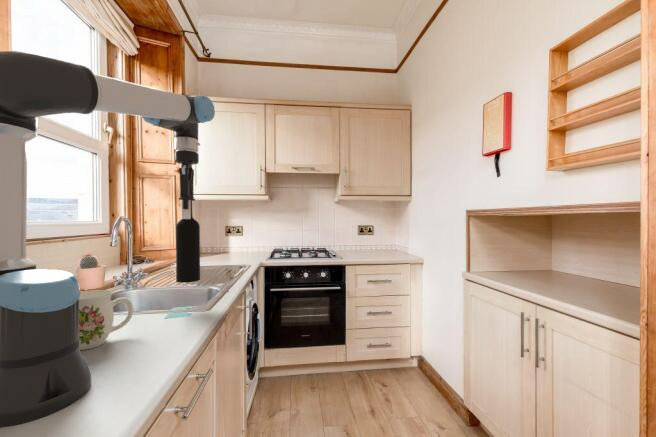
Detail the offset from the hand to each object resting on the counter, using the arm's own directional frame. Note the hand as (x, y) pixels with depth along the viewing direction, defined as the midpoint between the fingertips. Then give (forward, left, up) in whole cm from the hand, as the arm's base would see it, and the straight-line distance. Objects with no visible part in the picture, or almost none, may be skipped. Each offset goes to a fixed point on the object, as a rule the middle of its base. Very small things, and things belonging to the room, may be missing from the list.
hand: (187, 218), depth 107 cm
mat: (0, 0, -33) cm, 33 cm away
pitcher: (-23, +19, -33) cm, 44 cm away
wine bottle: (0, 0, -22) cm, 22 cm away
